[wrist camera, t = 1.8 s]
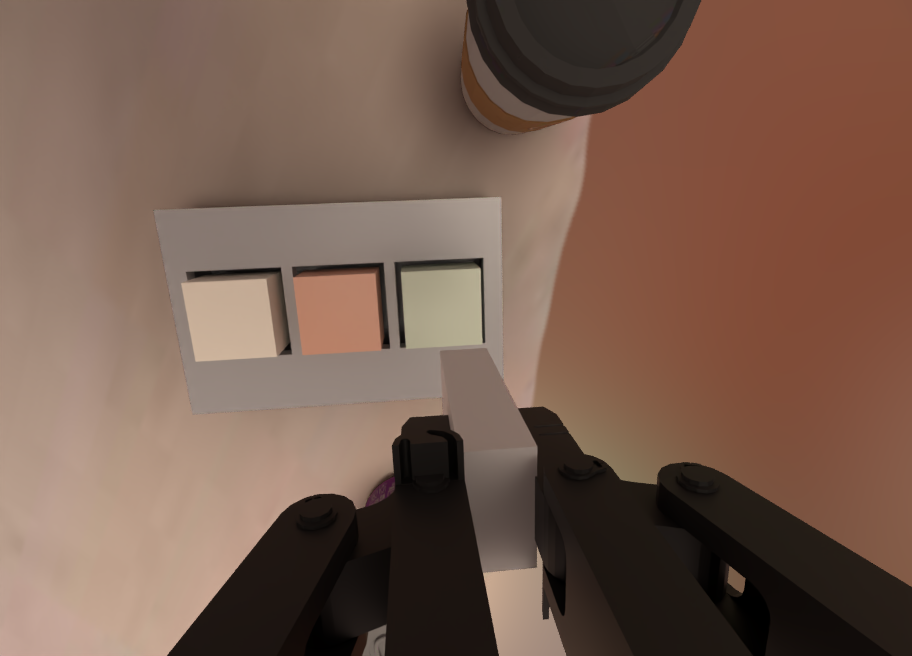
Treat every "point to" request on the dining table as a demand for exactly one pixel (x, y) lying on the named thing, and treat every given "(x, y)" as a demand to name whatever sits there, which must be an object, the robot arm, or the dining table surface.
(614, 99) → the coffee cup
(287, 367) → the keypad
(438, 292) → the key sage
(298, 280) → the key terracotta
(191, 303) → the key cream
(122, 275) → the dining table surface
